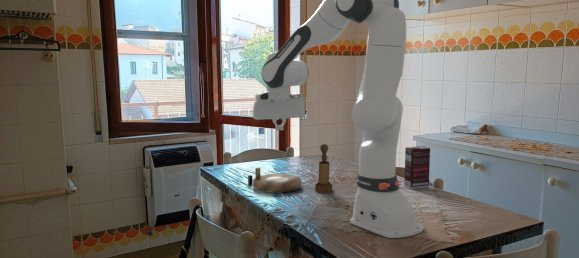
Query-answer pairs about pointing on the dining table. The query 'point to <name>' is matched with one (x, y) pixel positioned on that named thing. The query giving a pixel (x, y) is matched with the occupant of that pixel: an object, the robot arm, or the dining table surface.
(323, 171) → the brown wooden upright piece
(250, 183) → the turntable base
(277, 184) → the turntable
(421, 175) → the supplement box
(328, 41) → the robot arm
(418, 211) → the dining table surface
